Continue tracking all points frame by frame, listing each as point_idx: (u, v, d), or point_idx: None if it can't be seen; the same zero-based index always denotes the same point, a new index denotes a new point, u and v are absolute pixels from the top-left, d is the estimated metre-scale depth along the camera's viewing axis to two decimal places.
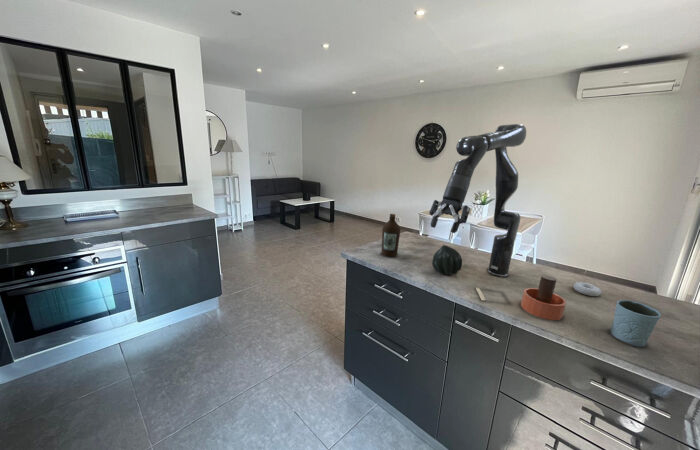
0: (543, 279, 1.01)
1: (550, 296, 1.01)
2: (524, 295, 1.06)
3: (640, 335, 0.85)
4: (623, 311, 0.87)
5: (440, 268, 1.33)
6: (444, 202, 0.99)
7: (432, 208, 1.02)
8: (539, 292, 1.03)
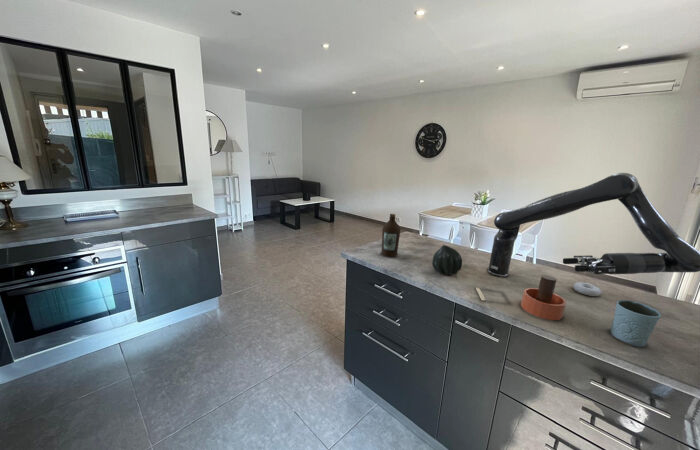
0: (543, 279, 1.01)
1: (550, 296, 1.01)
2: (524, 295, 1.06)
3: (640, 335, 0.85)
4: (623, 311, 0.87)
5: (440, 268, 1.33)
6: None
7: None
8: (539, 292, 1.03)
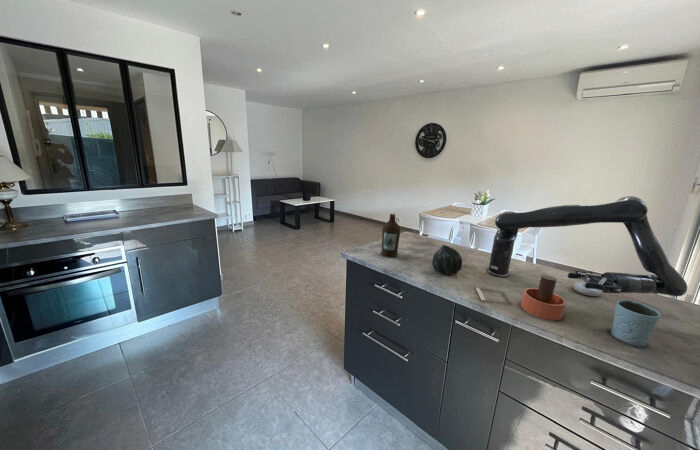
0: (543, 279, 1.01)
1: (550, 296, 1.01)
2: (524, 295, 1.06)
3: (640, 335, 0.85)
4: (623, 311, 0.87)
5: (440, 268, 1.33)
6: None
7: None
8: (539, 292, 1.03)
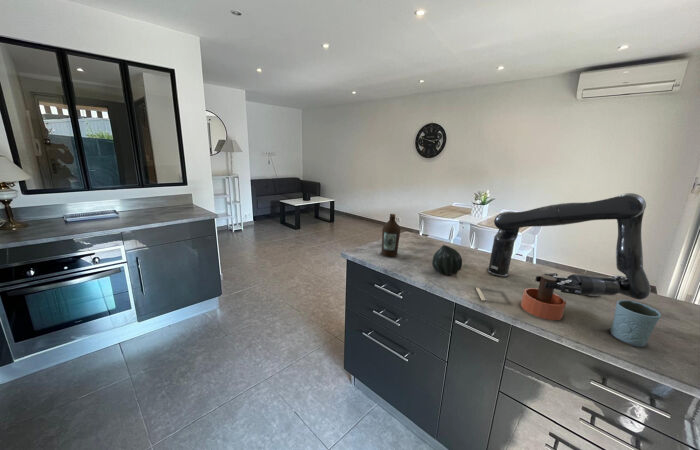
0: (543, 279, 1.01)
1: (550, 296, 1.01)
2: (524, 295, 1.06)
3: (640, 335, 0.85)
4: (623, 311, 0.87)
5: (440, 268, 1.33)
6: None
7: None
8: (539, 292, 1.03)
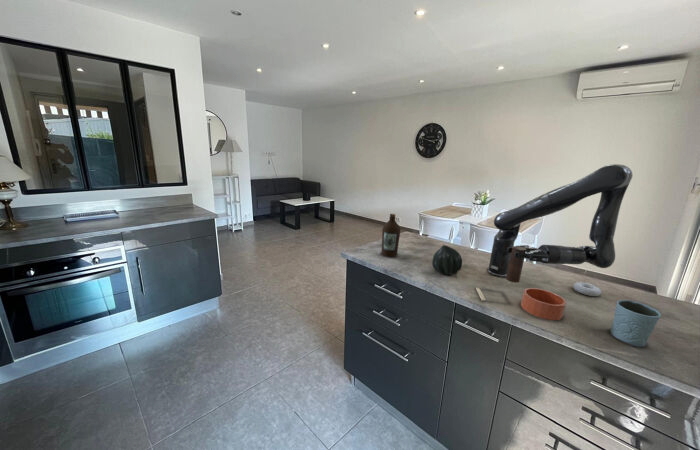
0: (513, 249, 1.06)
1: (520, 265, 1.05)
2: (524, 295, 1.06)
3: (640, 335, 0.85)
4: (623, 311, 0.87)
5: (440, 268, 1.33)
6: None
7: None
8: (510, 262, 1.07)
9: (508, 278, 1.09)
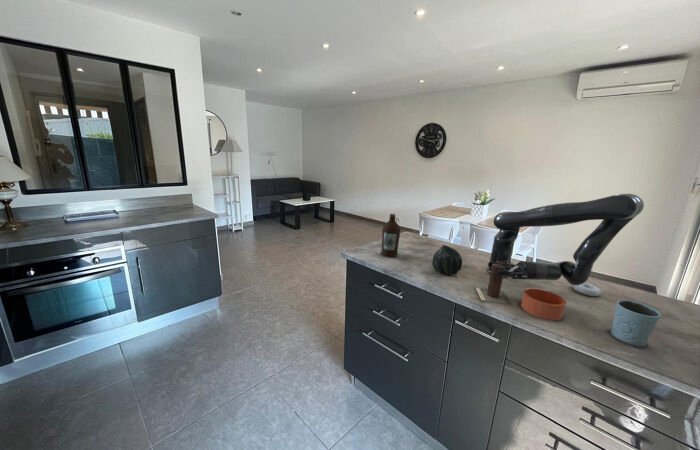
0: (493, 267, 1.11)
1: (499, 282, 1.11)
2: (524, 295, 1.06)
3: (640, 335, 0.85)
4: (623, 311, 0.87)
5: (440, 268, 1.33)
6: None
7: None
8: (490, 279, 1.13)
9: (488, 294, 1.14)
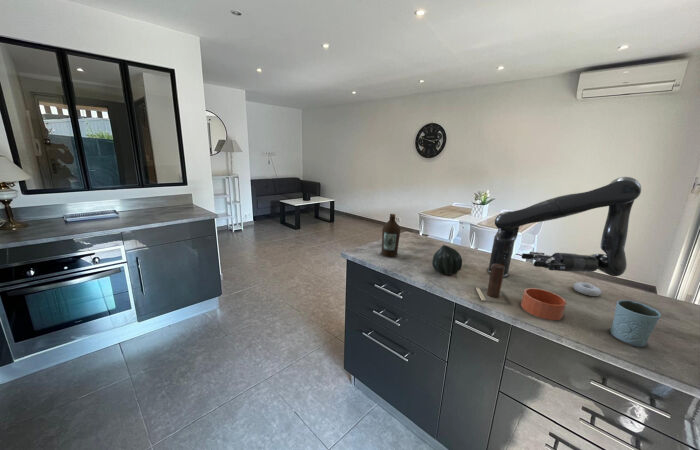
0: (493, 267, 1.11)
1: (499, 282, 1.11)
2: (524, 295, 1.06)
3: (640, 335, 0.85)
4: (623, 311, 0.87)
5: (440, 268, 1.33)
6: None
7: None
8: (490, 279, 1.13)
9: (488, 294, 1.14)
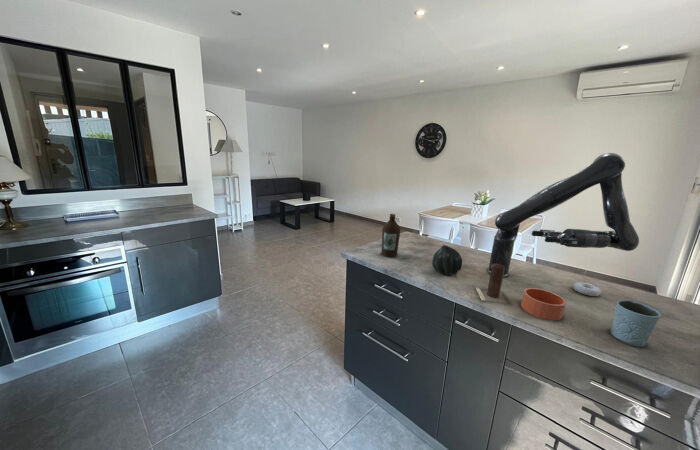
0: (493, 267, 1.11)
1: (499, 282, 1.11)
2: (524, 295, 1.06)
3: (640, 335, 0.85)
4: (623, 311, 0.87)
5: (440, 268, 1.33)
6: None
7: None
8: (490, 279, 1.13)
9: (488, 294, 1.14)
